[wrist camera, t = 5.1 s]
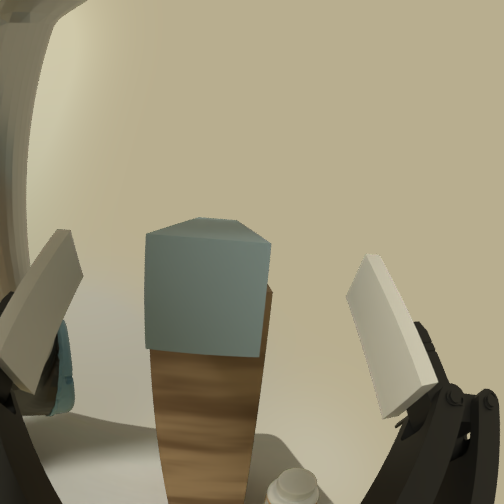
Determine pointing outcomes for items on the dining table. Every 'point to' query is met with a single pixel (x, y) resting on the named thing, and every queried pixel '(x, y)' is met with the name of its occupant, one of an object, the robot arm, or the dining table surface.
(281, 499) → the supplement bottle
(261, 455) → the dining table surface
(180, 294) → the bar
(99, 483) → the dining table surface
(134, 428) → the dining table surface
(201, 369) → the walnut stand
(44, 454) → the dining table surface
